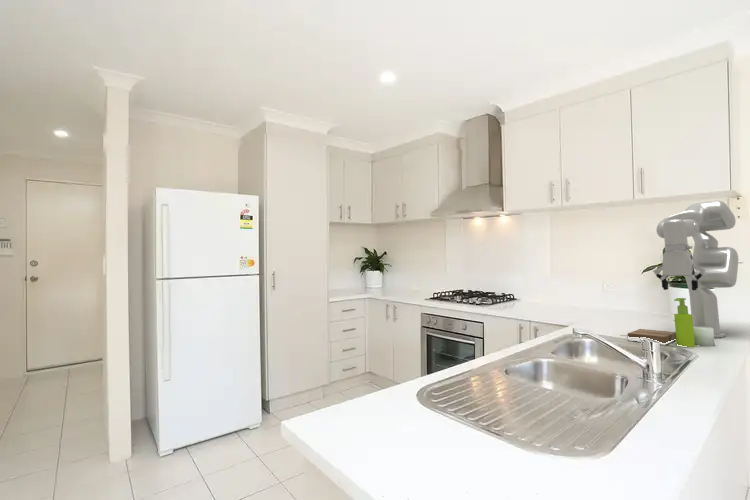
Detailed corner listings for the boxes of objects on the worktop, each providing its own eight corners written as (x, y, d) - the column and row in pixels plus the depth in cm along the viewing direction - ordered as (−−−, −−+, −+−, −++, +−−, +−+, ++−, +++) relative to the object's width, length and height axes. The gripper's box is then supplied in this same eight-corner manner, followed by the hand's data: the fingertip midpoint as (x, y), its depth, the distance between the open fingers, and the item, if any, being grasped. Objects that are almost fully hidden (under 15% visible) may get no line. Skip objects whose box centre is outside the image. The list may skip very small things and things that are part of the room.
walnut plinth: (640, 336, 179) (639, 328, 179) (676, 340, 167) (676, 332, 168) (628, 341, 171) (627, 333, 171) (665, 345, 159) (664, 337, 159)
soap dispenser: (672, 346, 157) (668, 298, 158) (681, 344, 160) (677, 297, 161) (688, 348, 152) (684, 299, 153) (698, 346, 155) (693, 297, 156)
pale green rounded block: (695, 342, 162) (694, 325, 163) (716, 344, 157) (715, 327, 157) (690, 344, 158) (688, 328, 159) (712, 347, 153) (710, 329, 153)
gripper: (705, 247, 153) (709, 289, 152) (655, 250, 167) (658, 288, 166) (700, 247, 148) (703, 291, 148) (648, 250, 163) (651, 290, 162)
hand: (679, 289), depth 157 cm, fingers open, 9 cm apart
